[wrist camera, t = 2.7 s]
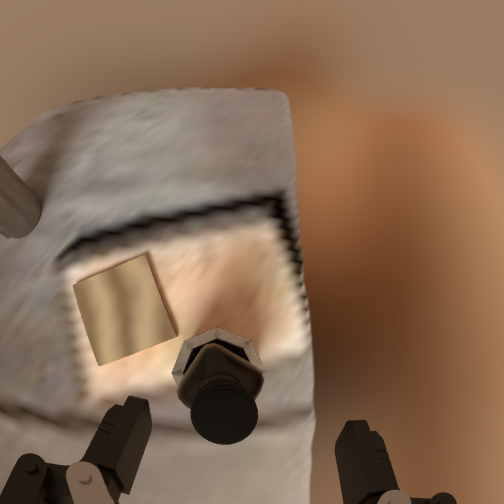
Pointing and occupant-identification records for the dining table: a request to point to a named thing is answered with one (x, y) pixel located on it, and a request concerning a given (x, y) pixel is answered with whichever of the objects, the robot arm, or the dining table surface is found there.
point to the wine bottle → (221, 394)
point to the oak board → (123, 311)
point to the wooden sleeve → (210, 336)
